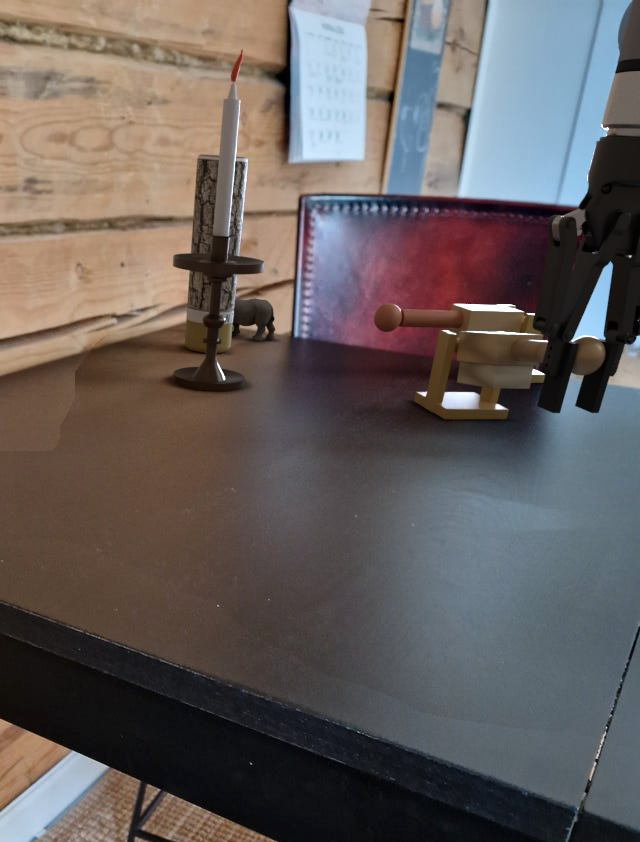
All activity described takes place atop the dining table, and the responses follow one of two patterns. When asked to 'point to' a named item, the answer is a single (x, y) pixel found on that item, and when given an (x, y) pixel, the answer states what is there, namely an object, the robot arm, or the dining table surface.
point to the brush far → (452, 318)
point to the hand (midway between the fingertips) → (567, 408)
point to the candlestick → (218, 258)
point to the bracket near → (456, 402)
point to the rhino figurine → (254, 317)
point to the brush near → (515, 358)
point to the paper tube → (202, 244)
